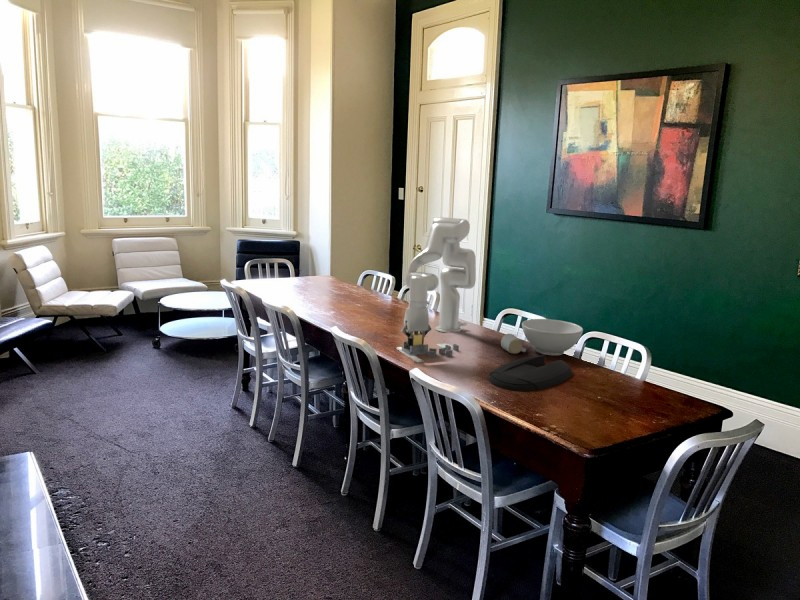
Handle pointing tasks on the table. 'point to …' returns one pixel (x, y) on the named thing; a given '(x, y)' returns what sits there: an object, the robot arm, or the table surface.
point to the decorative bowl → (551, 335)
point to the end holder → (415, 349)
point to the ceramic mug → (512, 344)
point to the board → (434, 351)
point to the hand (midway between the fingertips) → (415, 345)
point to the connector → (417, 338)
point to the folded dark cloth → (530, 374)
